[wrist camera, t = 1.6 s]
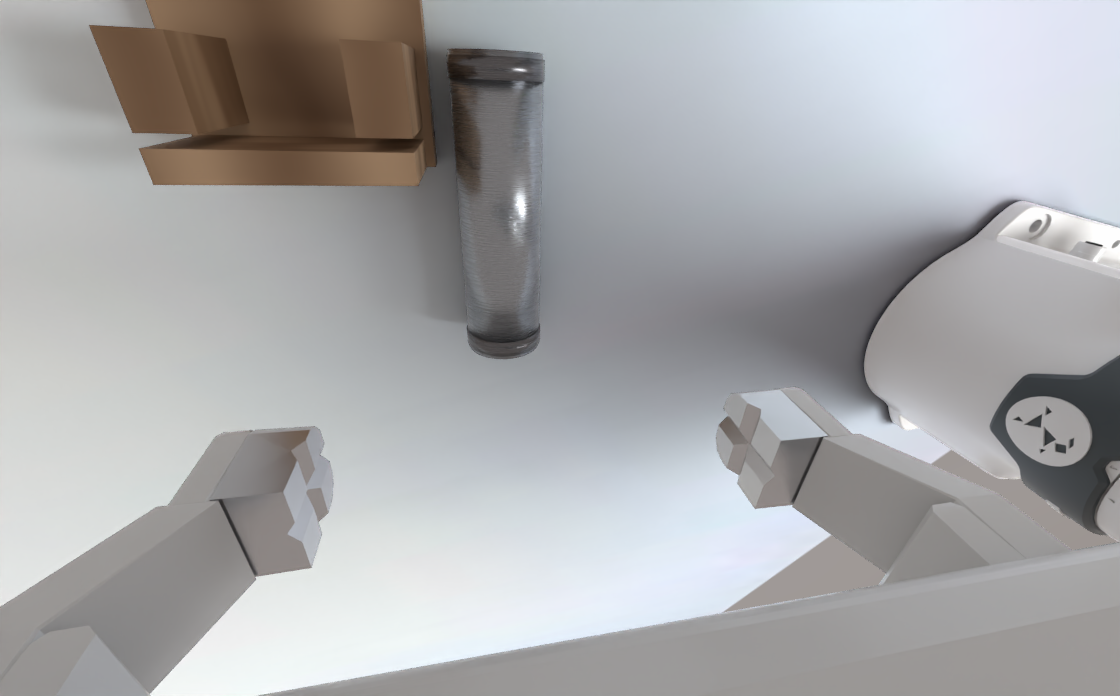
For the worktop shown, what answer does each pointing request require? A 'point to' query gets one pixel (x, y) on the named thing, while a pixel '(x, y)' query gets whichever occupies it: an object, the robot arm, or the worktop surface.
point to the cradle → (278, 91)
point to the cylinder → (499, 194)
